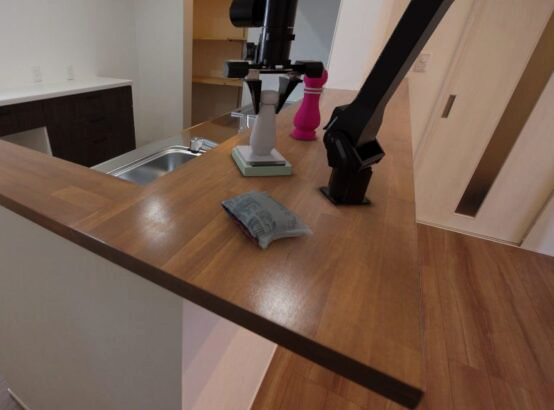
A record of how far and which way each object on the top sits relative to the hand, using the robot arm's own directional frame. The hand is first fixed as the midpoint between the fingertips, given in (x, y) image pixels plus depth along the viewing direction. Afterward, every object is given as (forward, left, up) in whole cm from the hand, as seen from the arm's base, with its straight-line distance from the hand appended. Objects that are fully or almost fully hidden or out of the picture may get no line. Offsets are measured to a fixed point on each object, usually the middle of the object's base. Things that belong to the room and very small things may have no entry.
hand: (266, 114), depth 63 cm
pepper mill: (+19, -19, -11) cm, 29 cm away
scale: (-1, 0, -11) cm, 11 cm away
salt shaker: (0, 0, -9) cm, 8 cm away
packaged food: (-26, +7, -11) cm, 29 cm away
